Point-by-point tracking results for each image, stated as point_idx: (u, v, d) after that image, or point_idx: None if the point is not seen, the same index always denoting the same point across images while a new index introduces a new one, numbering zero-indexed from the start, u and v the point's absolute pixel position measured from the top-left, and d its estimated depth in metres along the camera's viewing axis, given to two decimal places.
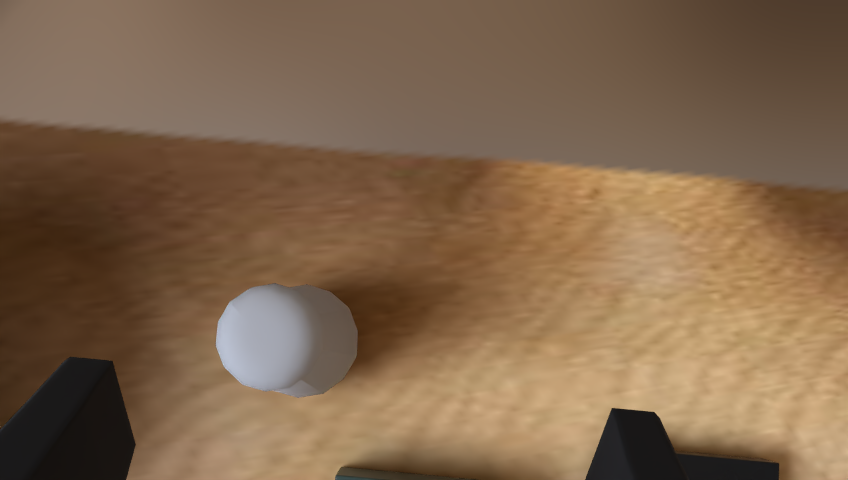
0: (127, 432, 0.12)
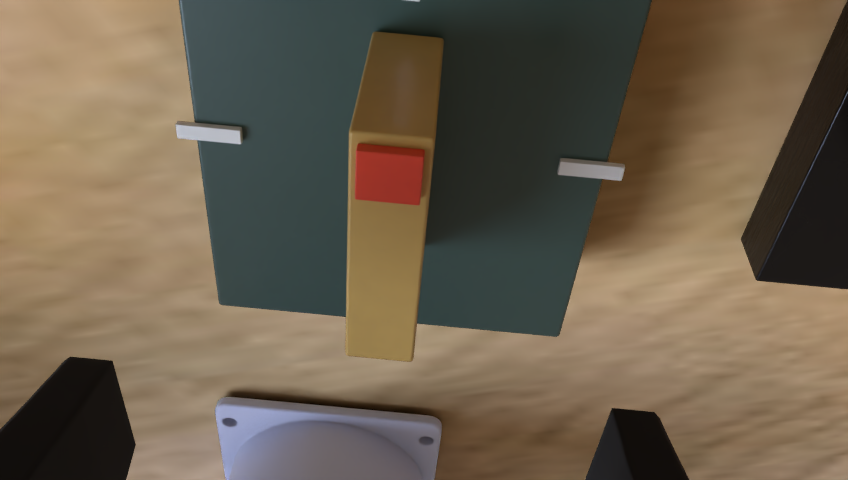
0: (127, 432, 0.12)
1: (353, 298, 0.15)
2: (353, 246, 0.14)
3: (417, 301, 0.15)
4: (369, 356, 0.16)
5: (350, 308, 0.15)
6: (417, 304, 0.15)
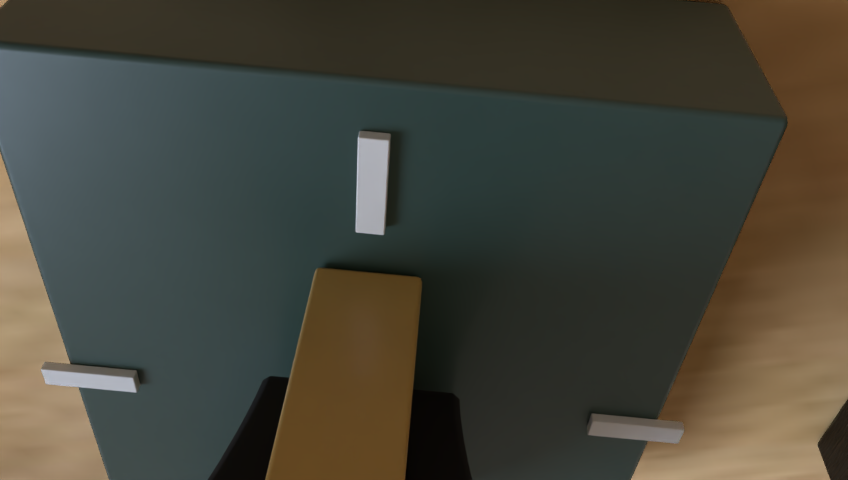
0: None
1: None
2: None
3: None
4: None
5: None
6: None
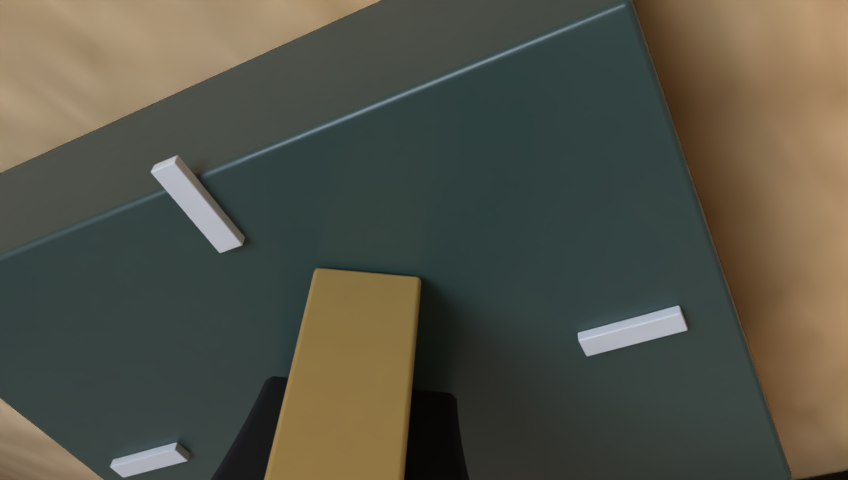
0: None
1: None
2: None
3: None
4: None
5: None
6: None
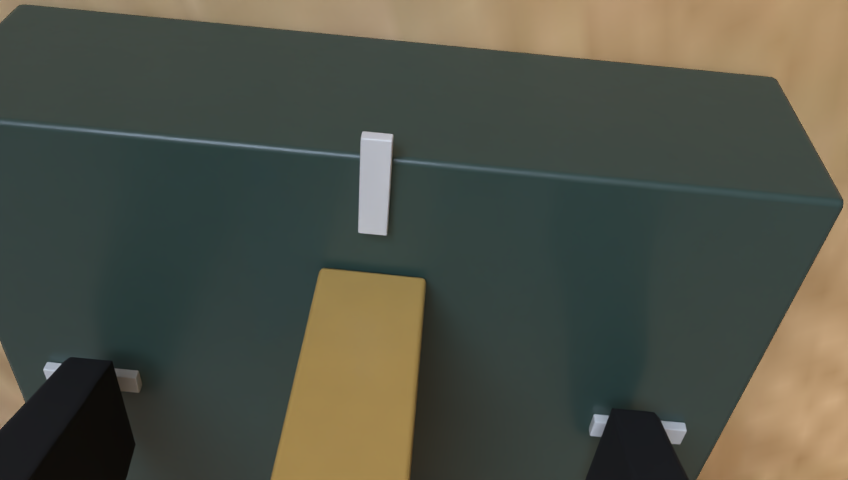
0: (127, 432, 0.12)
1: None
2: None
3: None
4: None
5: None
6: None
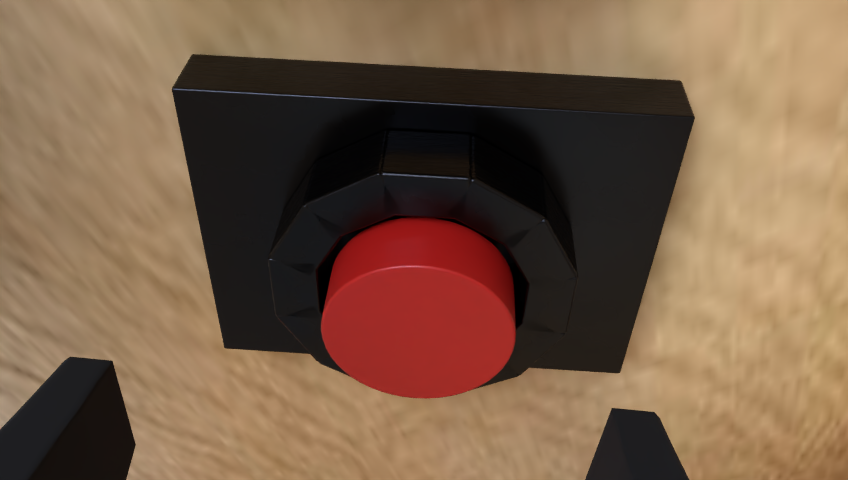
0: (127, 432, 0.12)
1: None
2: None
3: None
4: None
5: None
6: None
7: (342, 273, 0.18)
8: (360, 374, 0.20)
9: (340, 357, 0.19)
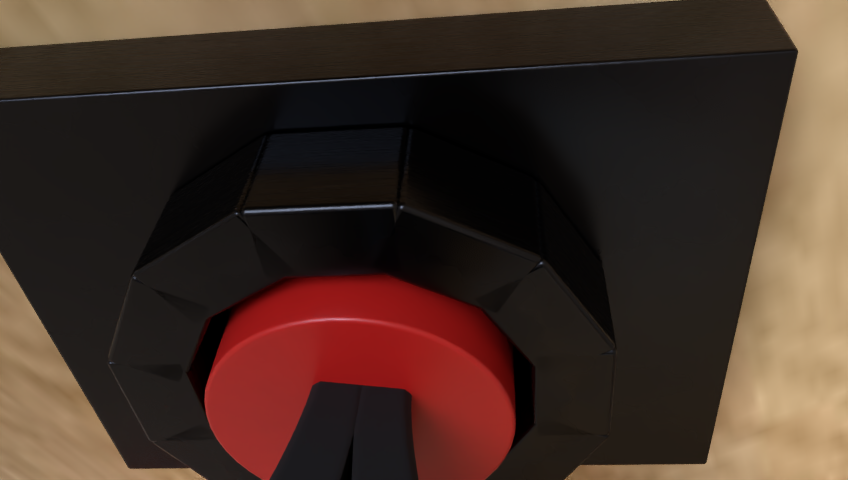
0: None
1: None
2: None
3: None
4: None
5: None
6: None
7: (225, 335, 0.11)
8: None
9: (251, 462, 0.12)
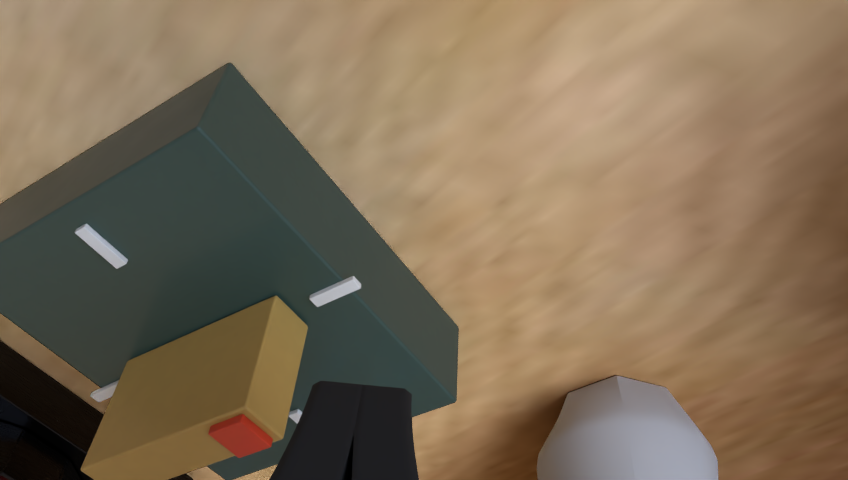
0: None
1: (130, 455, 0.19)
2: (170, 440, 0.19)
3: (168, 478, 0.20)
4: (95, 479, 0.20)
5: (121, 457, 0.19)
6: (166, 479, 0.20)
7: None
8: None
9: None
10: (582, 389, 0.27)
